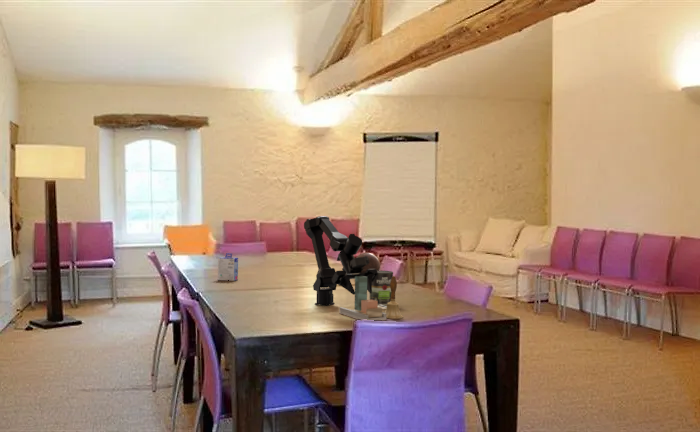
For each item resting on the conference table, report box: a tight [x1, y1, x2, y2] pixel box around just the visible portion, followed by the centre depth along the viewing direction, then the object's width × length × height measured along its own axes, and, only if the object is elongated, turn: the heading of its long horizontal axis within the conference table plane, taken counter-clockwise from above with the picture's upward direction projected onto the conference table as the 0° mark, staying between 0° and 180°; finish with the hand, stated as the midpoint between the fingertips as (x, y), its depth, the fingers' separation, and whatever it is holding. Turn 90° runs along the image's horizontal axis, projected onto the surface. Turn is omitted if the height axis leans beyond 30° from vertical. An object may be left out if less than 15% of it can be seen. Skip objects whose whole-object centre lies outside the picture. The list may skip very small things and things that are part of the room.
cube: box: [361, 299, 379, 313], centre depth 260 cm, size 4×4×4 cm
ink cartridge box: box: [217, 252, 239, 282], centre depth 368 cm, size 10×6×14 cm, turn 77°
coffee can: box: [368, 270, 394, 306], centre depth 296 cm, size 10×10×14 cm
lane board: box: [338, 305, 387, 321], centre depth 267 cm, size 20×19×2 cm
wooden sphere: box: [355, 252, 381, 273], centre depth 379 cm, size 15×15×15 cm
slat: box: [352, 276, 382, 318], centre depth 262 cm, size 12×6×14 cm, turn 30°
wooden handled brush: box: [385, 275, 404, 320], centre depth 265 cm, size 8×8×16 cm
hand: (362, 293), depth 264 cm, fingers open, 7 cm apart
